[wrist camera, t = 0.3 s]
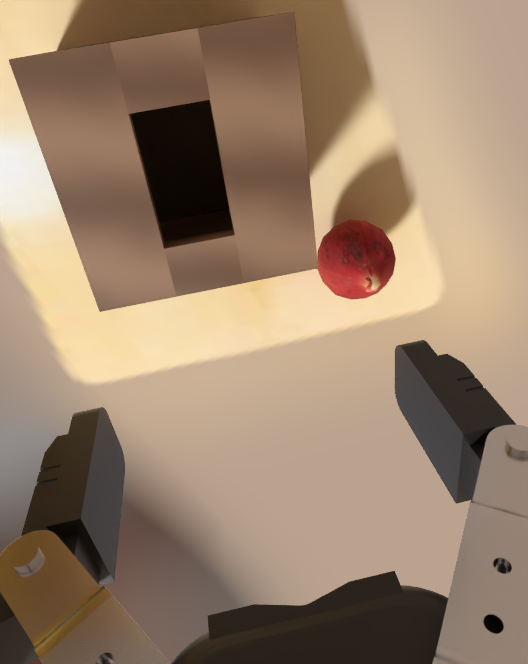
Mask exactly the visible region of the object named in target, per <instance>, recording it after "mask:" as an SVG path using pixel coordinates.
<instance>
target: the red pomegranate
mask: <svg viewBox="0 0 528 664" xmlns="http://www.w3.org/2000/svg"><path fill="white" fill-rule="evenodd" d="M395 260H396V259H395V254H394V250H393V246H392V243H391V242H390V240H389V239H388V237H387V236H386V235H385V233H384V232H383V230H382V229H380V228H378V227H376V226H374V225H372V224H370V223H368V222H366V221H355V220H349V221H347V222H344V223H342V224H339V225H337V226H335V227H334V228H332V229H331V230H330V231H329V232H328V233H327V234H326V235H325V236H324V237H323V239H322V242H321V244H320V247H319V250H318V259H317V265H318V271H319V274H320V276H321V278H322V281H323V282H324V283H325V285H326V286H327V287H328V288H329V289H330V290H331V291H332V292H333V293H334V294H335V295H338V296H341V297H345V298H348V299H361V298H367V297H369V296H372V295H374V294H376V293H378V292H379V291H380V290H381V289H382V288H383V287H384V286H385V285H386V284H387V282H388V281H389V279H390V278H391V276H392V275H393V271H394V266H395Z"/></svg>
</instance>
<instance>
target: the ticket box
mask: <svg viewBox="0 0 528 664" xmlns="http://www.w3.org/2000/svg"><path fill="white" fill-rule="evenodd" d="M9 62H10V65H11V68H12V71H13V73H14V76H15V79H16V82H17V84H18V87H19V90H20V93H21V95H22V98H23V101H24V104H25V106H26V109H27V112H28V115H29V118H30V120H31V123H32V126H33V129H34V131H35V134H36V137H37V140H38V142H39V145H40V148H41V151H42V153H43V156H44V159H45V162H46V165H47V167H48V170H49V173H50V176H51V178H52V181H53V184H54V187H55V189H56V192H57V195H58V198H59V200H60V203H61V206H62V209H63V212H64V214H65V217H66V220H67V223H68V225H69V228H70V231H71V234H72V236H73V239H74V242H75V245H76V247H77V250H78V253H79V256H80V259H81V261H82V264H83V267H84V270H85V272H86V275H87V278H88V281H89V283H90V286H91V289H92V292H93V294H94V297H95V300H96V303H97V306H98V308H99V311H100V312H101V311H106V310H111V309H116V308H121V307H126V306H131V305H136V304H141V303H146V302H151V301H156V300H161V299H166V298H171V297H176V296H181V295H186V294H191V293H196V292H201V291H206V290H211V289H216V288H221V287H226V286H231V285H236V284H241V283H246V282H251V281H256V280H261V279H266V278H271V277H276V276H282V275H287V274H292V273H297V272H302V271H307V270H312V269H317V268H318V265H317V254H316V243H315V233H314V222H313V211H312V200H311V189H310V179H309V168H308V157H307V146H306V135H305V124H304V114H303V103H302V92H301V81H300V70H299V60H298V49H297V38H296V27H295V16H294V12H291V13H284V14H278V15H271V16H265V17H258V18H252V19H246V20H240V21H234V22H228V23H222V24H216V25H210V26H204V27H198V28H192V29H186V30H180V31H174V32H168V33H162V34H156V35H150V36H144V37H138V38H132V39H126V40H120V41H114V42H108V43H102V44H96V45H90V46H84V47H78V48H72V49H66V50H60V51H54V52H49V53H43V54H37V55H32V56H26V57H20V58H15V59H9ZM205 100H210V105H211V110H212V116H213V121H214V127H215V132H216V138H217V143H218V149H219V154H220V160H221V165H222V171H223V176H224V182H225V187H226V193H227V198H228V204H229V209H228V210H223V211H218V212H213V213H207V214H202V215H197V216H192V217H186V218H181V219H176V220H171V221H165V222H160V223H159V221H158V217H157V213H156V209H155V205H154V202H153V198H152V194H151V190H150V186H149V182H148V179H147V175H146V171H145V167H144V163H143V159H142V156H141V152H140V148H139V144H138V140H137V137H136V133H135V129H134V125H133V121H132V117H131V113H137V112H143V111H148V110H154V109H160V108H165V107H171V106H177V105H182V104H188V103H194V102H199V101H205Z"/></svg>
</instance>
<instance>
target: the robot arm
mask: <svg viewBox="0 0 528 664" xmlns="http://www.w3.org/2000/svg"><path fill="white" fill-rule="evenodd" d="M395 394H396V399H397V402H398V405H399V407H400V410H401V411H402V413H403V415H404V417H405V419H406V420H407V422H408V423H409V425H410V427H411V429H412V430H413V432H414V434H415V435H416V437H417V439H418V440H419V442H420V444H421V445H422V447H423V449H424V450H425V452H426V454H427V456H428V457H429V459H430V461H431V462H432V464H433V465H434V467H435V469H436V471H437V472H438V474H439V475H440V477H441V479H442V481H443V482H444V484H445V486H446V487H447V489H448V491H449V492H450V494H451V496H452V497H453V499H454V501H455V502H456V503H460V502H464V501H468V500H471V502H470V507H469V511H468V515H467V519H466V523H465V528H464V532H463V536H462V541H461V545H460V549H459V554H458V559H457V563H456V567H455V571H454V576H453V580H452V585H451V589H450V593H449V598H447V597H445V596H443V595H440V594H438V593H435V592H433V591H430V590H426V589H422V588H418V587H411V586H401V585H400V583H399V581H398V578H397V576H396V573H395V571H392V572H388V573H384V574H380V575H376V576H371V577H367V578H363V579H359V580H355V581H351V582H348V583H346V584H344V585H343V586H341V587H339V588H337V589H335V590H334V591H332V592H330V593H328V594H326V595H325V596H322V597H321V598H319V599H317V600H315V601H313V602H312V603H309V604H307V605H304V606H292V605H291V606H290V605H250V606H247V607H242V608H238V609H234V610H230V611H225V612H221V613H217V614H213V615H209V616H208V627H209V632H207V633H205V634H204V635H202V636H201V637H199V638H198V639H196V640H195V641H194V642H192V643H191V644H190V645H188V646H187V647H186V648H185V649H184V650H183V651H182V652H181V653H180V654H179V655H178V656H177V657H176V658H175V659H174V660H173V662H172V663H171V664H528V427H525V426H520V425H516V424H515V422H514V421H513V420H512V419H511V418H510V417H509V415H508V414H507V413H506V412H505V411H504V410H503V408H502V407H501V406H500V405H499V404H498V403H497V401H496V400H495V399H494V398H493V397H492V396H491V394H490V393H489V392H488V391H487V390H486V389H485V388H483V385H482V384H481V383H480V382H479V381H478V379H477V378H475V377H474V375H473V374H472V372H471V371H470V370H469V369H468V368H467V367H466V365H465V364H464V363H462V362H461V361H458V360H457V359H455V358H453V357H452V356H450V355H448V354H444V355H439V356H437V354H436V353H435V352H434V351H433V349H432V348H431V347H430V346H429V344H428V343H427V342H426V341H424V340H421V341H417V342H412V343H407V344H403V345H398V346H396V349H395ZM40 470H41V472H39V476H38V479H37V486H35V489H34V493H33V496H32V500H31V503H30V507H29V510H28V514H27V517H26V521H25V525H24V528H23V531H22V535H21V537H19V538H18V539H16V540H14V541H13V542H12V543H11V544H10V545H8V547H6V549H4V551H3V552H2V553H1V555H0V664H29V663H30V662H32V661H34V660H35V659H37V658H40V660H41V661H42V663H43V664H170V662H169V661H168V660H167V659H166V658H165V656H164V655H163V654H162V653H161V652H160V651H159V649H158V648H157V647H156V646H155V645H154V644H153V642H152V641H151V640H150V639H149V638H148V637H147V635H146V634H145V633H144V632H143V631H142V629H141V628H140V627H139V626H138V625H137V624H136V622H135V621H134V620H133V619H132V618H131V617H130V615H129V614H128V613H127V612H126V611H125V609H124V608H123V607H122V606H121V605H120V604H119V603H118V601H117V600H116V599H115V598H114V597H113V595H112V594H111V593H110V592H109V591H108V590H107V589H106V588H105V587H104V586H103V587H102V588H101V587H100V586H99V585H102V584H106V583H111V582H114V579H115V568H116V558H117V548H118V537H119V526H120V517H121V506H122V496H123V484H124V475H125V462H124V455H123V451H122V448H121V445H120V443H119V440H118V438H117V436H116V433H115V431H114V428H113V426H112V423H111V421H110V419H109V416H108V414H107V412H106V410H105V409H104V408H103V407H101V408H97V409H92V410H87V411H82V412H78V413H75V414H74V415H73V417H72V421H71V425H70V429H69V433H68V434H67V435H62V436H57V438H56V439H55V440H54V441H53V443H52V444H51V445H50V447H49V448H48V449H47V451H46V452H45V454H44V458H43V461H42V465H41V468H40Z"/></svg>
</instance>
